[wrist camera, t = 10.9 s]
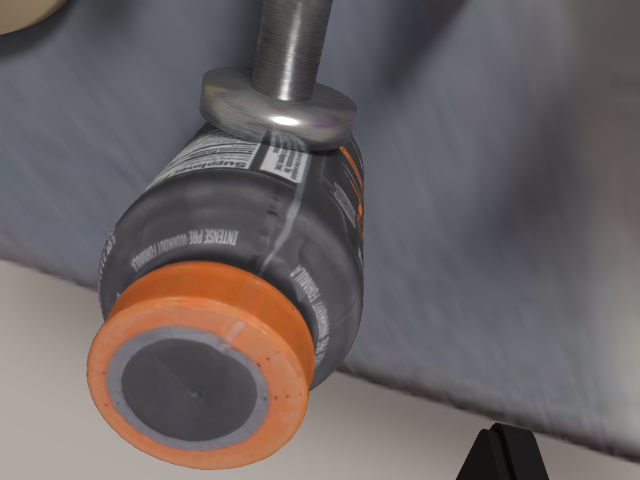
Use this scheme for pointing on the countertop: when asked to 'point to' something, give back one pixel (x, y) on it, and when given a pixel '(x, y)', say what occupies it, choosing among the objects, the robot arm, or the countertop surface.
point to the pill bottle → (228, 298)
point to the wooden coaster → (25, 13)
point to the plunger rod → (282, 85)
